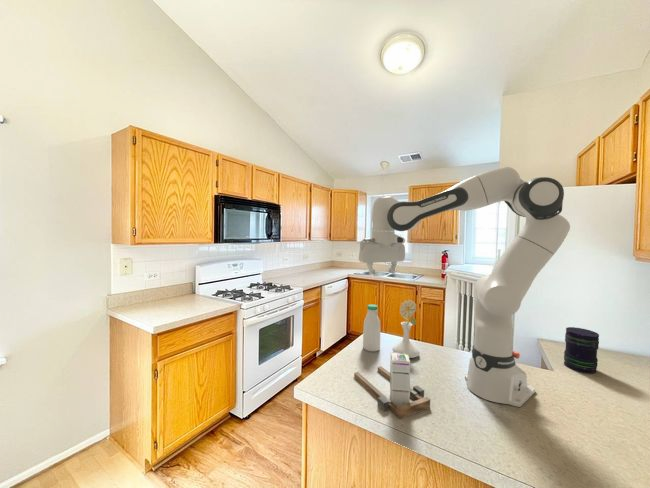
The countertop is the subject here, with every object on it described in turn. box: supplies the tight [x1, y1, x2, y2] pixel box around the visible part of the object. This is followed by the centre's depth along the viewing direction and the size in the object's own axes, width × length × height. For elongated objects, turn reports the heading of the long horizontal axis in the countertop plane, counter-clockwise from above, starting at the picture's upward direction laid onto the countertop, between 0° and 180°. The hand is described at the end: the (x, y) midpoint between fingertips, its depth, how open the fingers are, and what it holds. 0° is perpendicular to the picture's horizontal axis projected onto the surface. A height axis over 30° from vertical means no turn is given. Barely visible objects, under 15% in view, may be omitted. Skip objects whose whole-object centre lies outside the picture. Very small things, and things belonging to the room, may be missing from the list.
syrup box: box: [389, 352, 411, 407], centre depth 85 cm, size 6×6×14 cm
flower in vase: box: [392, 299, 420, 359], centre depth 117 cm, size 13×11×25 cm
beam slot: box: [354, 365, 431, 420], centre depth 91 cm, size 16×24×2 cm, turn 26°
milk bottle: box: [362, 303, 381, 353], centre depth 124 cm, size 8×8×20 cm
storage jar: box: [563, 326, 600, 375], centre depth 109 cm, size 10×10×15 cm
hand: (381, 273), depth 107 cm, fingers open, 8 cm apart
